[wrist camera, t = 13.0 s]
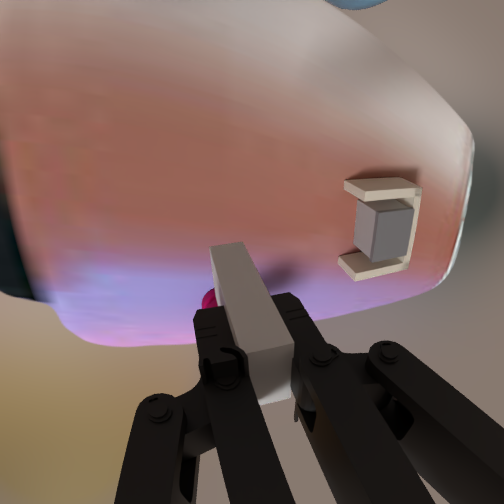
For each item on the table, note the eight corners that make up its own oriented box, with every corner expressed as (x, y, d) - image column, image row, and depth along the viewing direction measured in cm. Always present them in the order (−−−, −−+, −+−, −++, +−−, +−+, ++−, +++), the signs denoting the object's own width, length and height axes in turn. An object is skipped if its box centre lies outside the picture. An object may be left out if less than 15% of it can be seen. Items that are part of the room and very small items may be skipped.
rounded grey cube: (356, 198, 49) (378, 213, 43) (390, 195, 50) (414, 208, 45) (351, 244, 53) (371, 262, 47) (385, 238, 54) (406, 255, 49)
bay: (344, 180, 47) (365, 191, 42) (399, 177, 49) (422, 187, 44) (337, 263, 54) (354, 281, 49) (389, 253, 56) (407, 268, 51)
